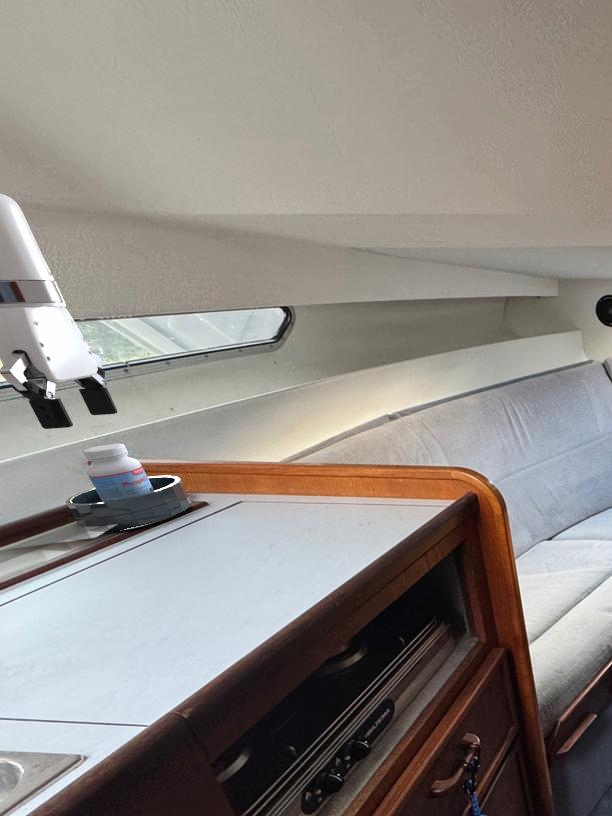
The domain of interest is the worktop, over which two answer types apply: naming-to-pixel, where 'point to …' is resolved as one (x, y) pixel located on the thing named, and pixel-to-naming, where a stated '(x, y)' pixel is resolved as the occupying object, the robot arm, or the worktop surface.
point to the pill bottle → (116, 473)
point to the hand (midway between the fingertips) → (83, 420)
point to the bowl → (131, 505)
